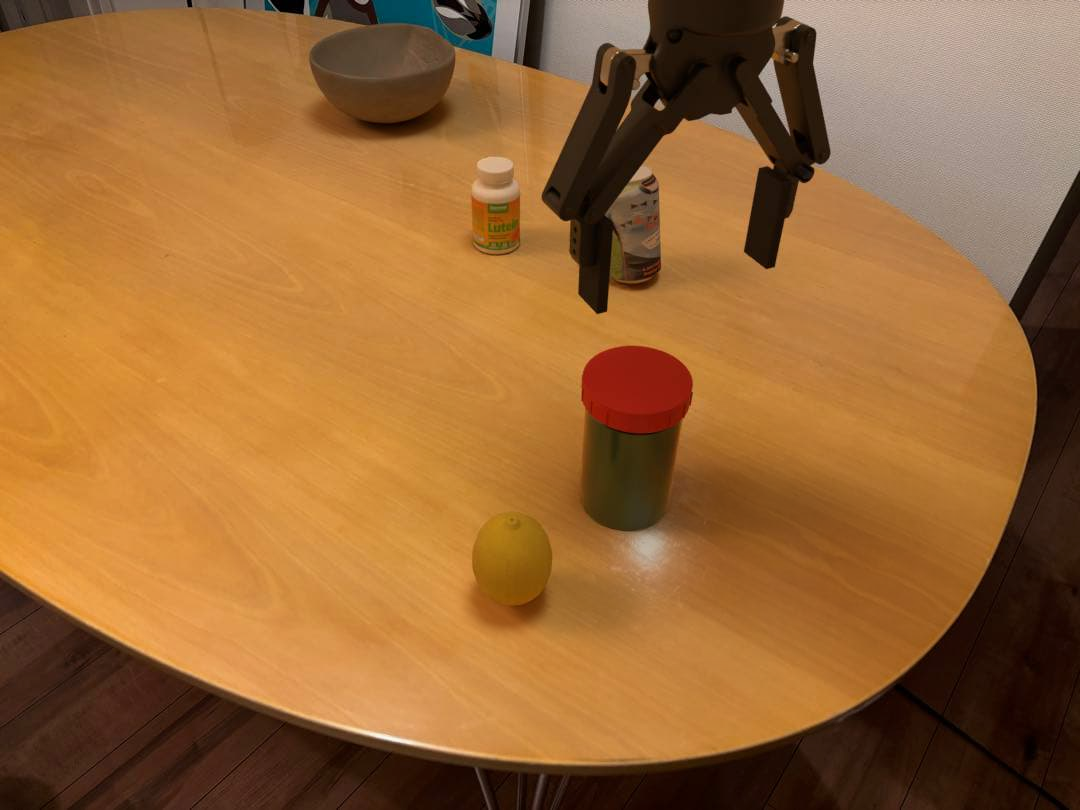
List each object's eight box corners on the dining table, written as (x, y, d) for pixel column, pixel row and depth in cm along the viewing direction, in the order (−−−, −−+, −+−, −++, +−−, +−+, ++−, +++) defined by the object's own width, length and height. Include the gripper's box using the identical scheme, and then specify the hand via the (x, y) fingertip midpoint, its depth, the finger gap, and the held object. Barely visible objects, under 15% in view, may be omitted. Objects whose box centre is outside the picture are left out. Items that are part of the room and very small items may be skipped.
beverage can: (644, 297, 93) (655, 193, 86) (583, 277, 96) (589, 174, 89) (669, 270, 98) (682, 169, 90) (610, 252, 100) (618, 152, 93)
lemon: (565, 587, 64) (569, 511, 59) (522, 641, 61) (523, 565, 55) (503, 554, 66) (501, 478, 61) (458, 604, 63) (452, 528, 58)
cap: (581, 362, 67) (582, 343, 66) (685, 366, 67) (688, 347, 66) (581, 431, 61) (582, 411, 60) (694, 435, 61) (698, 416, 60)
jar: (670, 534, 68) (689, 422, 61) (577, 527, 68) (584, 415, 61) (668, 469, 74) (684, 359, 66) (581, 463, 74) (588, 353, 67)
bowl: (289, 117, 128) (277, 47, 122) (393, 80, 140) (387, 13, 134) (383, 157, 118) (375, 83, 112) (487, 113, 130) (485, 43, 124)
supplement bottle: (486, 260, 99) (484, 179, 92) (464, 239, 102) (461, 159, 96) (528, 248, 101) (529, 168, 95) (505, 227, 104) (504, 149, 98)
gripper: (545, -15, 41) (540, 354, 54) (947, -63, 49) (855, 267, 63) (482, -52, 46) (492, 294, 60) (856, -90, 55) (789, 221, 68)
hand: (678, 280), depth 61 cm, fingers open, 13 cm apart
